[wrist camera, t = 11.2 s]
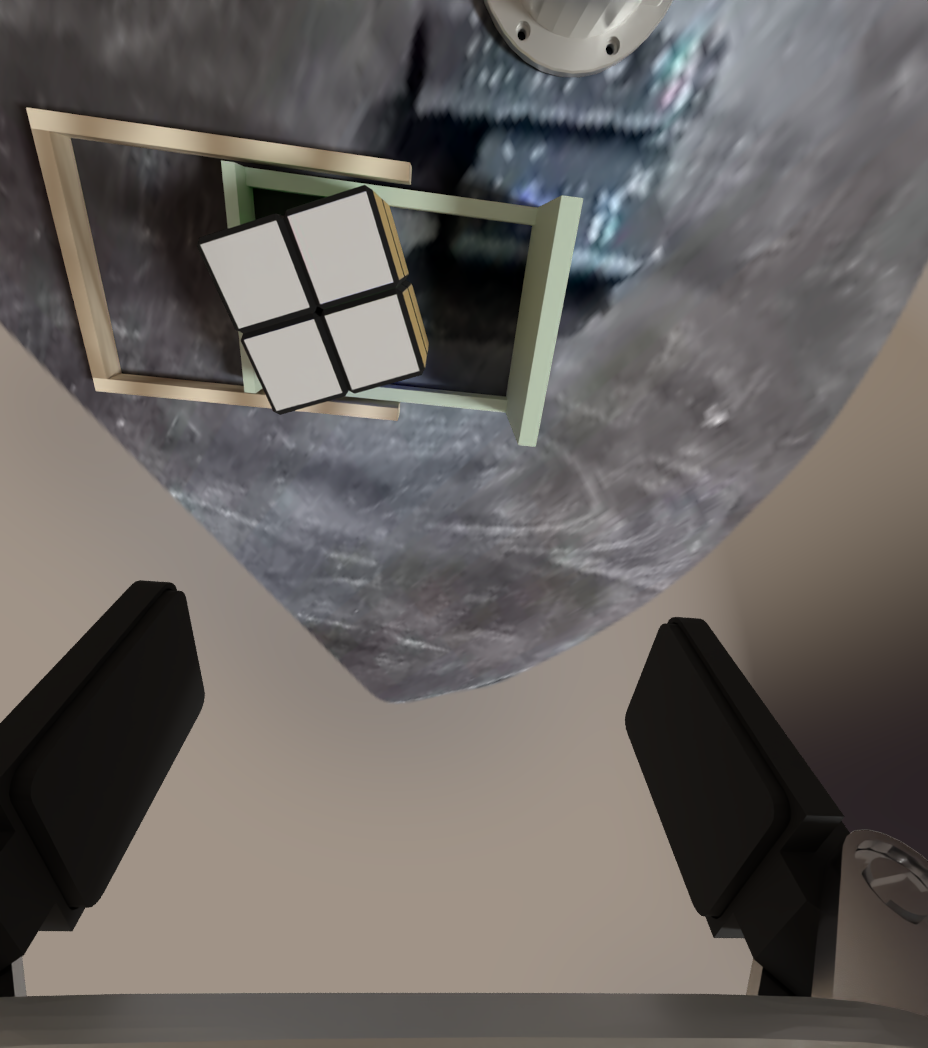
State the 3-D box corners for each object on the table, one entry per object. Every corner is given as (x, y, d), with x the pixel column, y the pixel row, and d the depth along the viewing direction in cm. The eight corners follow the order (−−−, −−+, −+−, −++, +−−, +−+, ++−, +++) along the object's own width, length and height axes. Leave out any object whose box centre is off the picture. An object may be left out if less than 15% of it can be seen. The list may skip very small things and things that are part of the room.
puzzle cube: (311, 381, 39) (274, 418, 31) (254, 243, 35) (190, 239, 26) (430, 347, 38) (427, 374, 30) (388, 200, 34) (369, 181, 25)
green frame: (551, 211, 34) (583, 198, 26) (518, 409, 41) (535, 446, 33) (238, 168, 33) (173, 140, 25) (257, 383, 39) (211, 415, 31)
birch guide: (411, 167, 33) (409, 162, 31) (399, 413, 41) (397, 420, 39) (49, 115, 31) (26, 107, 29) (111, 384, 39) (95, 391, 37)
